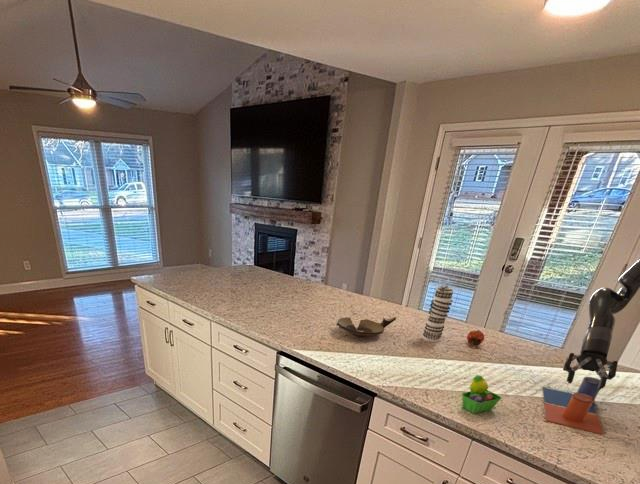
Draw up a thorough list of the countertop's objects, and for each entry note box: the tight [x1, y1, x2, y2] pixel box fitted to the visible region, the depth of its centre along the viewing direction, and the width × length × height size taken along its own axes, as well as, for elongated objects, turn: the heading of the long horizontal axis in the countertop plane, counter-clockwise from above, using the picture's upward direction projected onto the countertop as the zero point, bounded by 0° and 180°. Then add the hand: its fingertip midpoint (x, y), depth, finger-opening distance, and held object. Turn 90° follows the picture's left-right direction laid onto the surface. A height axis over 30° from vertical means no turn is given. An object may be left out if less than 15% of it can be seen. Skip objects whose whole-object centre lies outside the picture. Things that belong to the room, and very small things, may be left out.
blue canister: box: [575, 376, 601, 400], centre depth 151 cm, size 6×6×8 cm
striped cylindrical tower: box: [422, 284, 455, 343], centre depth 197 cm, size 9×9×25 cm
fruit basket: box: [461, 374, 502, 414], centre depth 143 cm, size 11×9×11 cm
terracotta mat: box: [544, 402, 604, 436], centre depth 142 cm, size 16×14×1 cm
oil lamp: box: [335, 316, 397, 337], centre depth 204 cm, size 22×30×8 cm
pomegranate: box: [466, 329, 485, 347], centre depth 197 cm, size 7×7×10 cm
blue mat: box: [542, 386, 598, 415], centre depth 153 cm, size 16×14×1 cm
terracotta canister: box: [563, 392, 596, 422], centre depth 140 cm, size 6×6×8 cm
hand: (584, 385), depth 140 cm, fingers open, 8 cm apart
